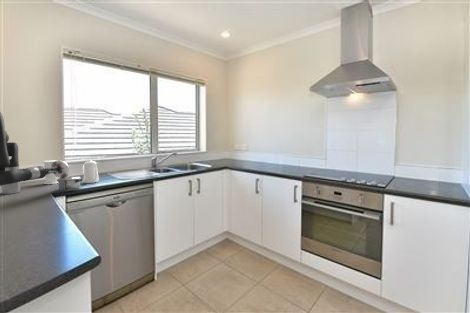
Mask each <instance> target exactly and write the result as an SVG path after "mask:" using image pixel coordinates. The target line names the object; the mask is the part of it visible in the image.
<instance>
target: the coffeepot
mask: <svg viewBox="0 0 470 313" xmlns="http://www.w3.org/2000/svg"><path fill="white" fill-rule="evenodd" d="M98 164H100V161H97V162H96V161H95V160H92V159H88V160H87V161H85V162H84V163H83V165H82V173H83V174H82V175H83V179H82V181H83V183H84V184H94V183H95V182H96V183H98V182H99V181H100V176H99V173H98V172H99V171H98Z"/></svg>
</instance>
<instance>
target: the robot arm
mask: <svg viewBox="0 0 470 313" xmlns="http://www.w3.org/2000/svg"><path fill="white" fill-rule="evenodd" d="M4 119H5V118H4V116H3V113H2V112H1V111H0V188H1V194H2V195H12V194H18V193H21V192H22V191H21V190H22V188H21V182H28V181H34V180H40V179H45V176H46V175H49V174H52V173H57V171H59V168H44V166H41V165H40V166H32V167H26V168H20V163H19V146H18V143H16V142H14V141H13V142H9V140H10V136H9V134H8V132H7V131H6V126H5V120H4ZM10 157H11V158H10Z"/></svg>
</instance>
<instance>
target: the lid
mask: <svg viewBox="0 0 470 313" xmlns="http://www.w3.org/2000/svg"><path fill="white" fill-rule="evenodd" d="M51 168H59V171H57V173H53V174H54V175H55V176H56V177H58V178H60V179H65V177H69V176H70V173H71V171H70V166H69V165H68V163H67V162H66V161H64V160H60V159H59V160H58V159H57V161H54V162H53V163H52V165H51Z"/></svg>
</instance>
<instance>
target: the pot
mask: <svg viewBox="0 0 470 313" xmlns="http://www.w3.org/2000/svg"><path fill="white" fill-rule="evenodd" d="M82 181H83V179H82V178H81V176H67V177H65V179H60V178H59V179H57V182H58V184H57V185H58V192H69V191H70V192H71V191H77V190H80V189H81V188H82V186H81V182H82Z"/></svg>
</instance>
